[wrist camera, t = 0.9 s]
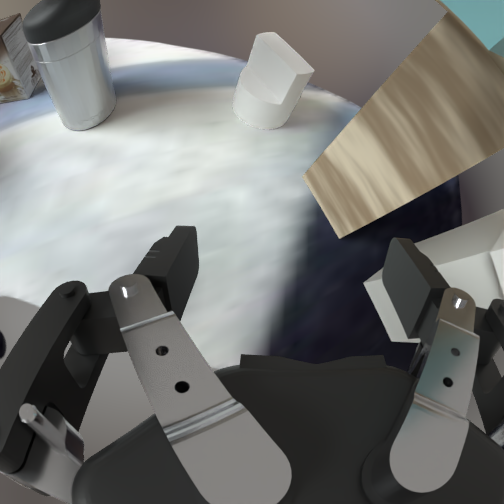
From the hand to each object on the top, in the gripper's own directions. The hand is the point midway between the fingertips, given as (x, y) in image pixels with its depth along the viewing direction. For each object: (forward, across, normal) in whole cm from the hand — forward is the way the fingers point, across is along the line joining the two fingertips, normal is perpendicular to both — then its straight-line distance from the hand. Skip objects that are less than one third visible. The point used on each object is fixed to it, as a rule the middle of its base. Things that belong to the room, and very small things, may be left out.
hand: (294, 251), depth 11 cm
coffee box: (+30, +46, -14) cm, 57 cm away
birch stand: (+30, -11, +7) cm, 33 cm away
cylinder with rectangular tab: (+36, +3, -4) cm, 37 cm away
